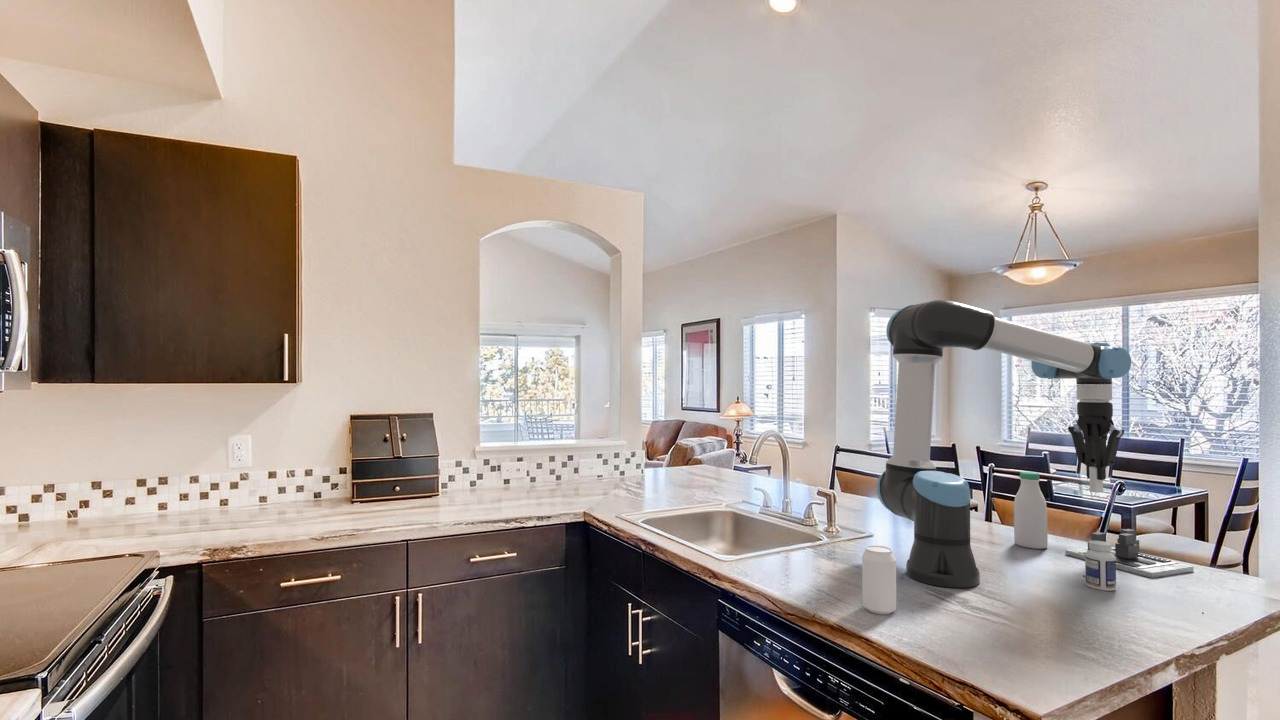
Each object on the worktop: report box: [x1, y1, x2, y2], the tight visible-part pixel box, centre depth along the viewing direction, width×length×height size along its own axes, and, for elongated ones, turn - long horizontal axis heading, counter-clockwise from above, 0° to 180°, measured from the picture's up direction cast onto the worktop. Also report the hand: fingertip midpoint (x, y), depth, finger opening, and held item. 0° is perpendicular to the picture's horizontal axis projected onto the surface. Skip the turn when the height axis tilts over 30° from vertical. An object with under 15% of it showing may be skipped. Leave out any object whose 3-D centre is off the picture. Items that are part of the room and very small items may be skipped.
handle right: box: [1116, 528, 1141, 553], centre depth 157 cm, size 4×3×5 cm
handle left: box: [1087, 531, 1107, 550], centre depth 154 cm, size 4×3×5 cm
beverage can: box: [861, 544, 897, 616], centre depth 120 cm, size 6×6×12 cm
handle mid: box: [1114, 533, 1139, 559], centre depth 153 cm, size 4×3×5 cm
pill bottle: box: [1084, 540, 1117, 592], centre depth 134 cm, size 5×5×10 cm
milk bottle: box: [1013, 471, 1049, 550], centre depth 168 cm, size 8×8×20 cm
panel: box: [1065, 546, 1194, 579], centre depth 152 cm, size 15×20×2 cm
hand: (1096, 491), depth 160 cm, fingers closed
